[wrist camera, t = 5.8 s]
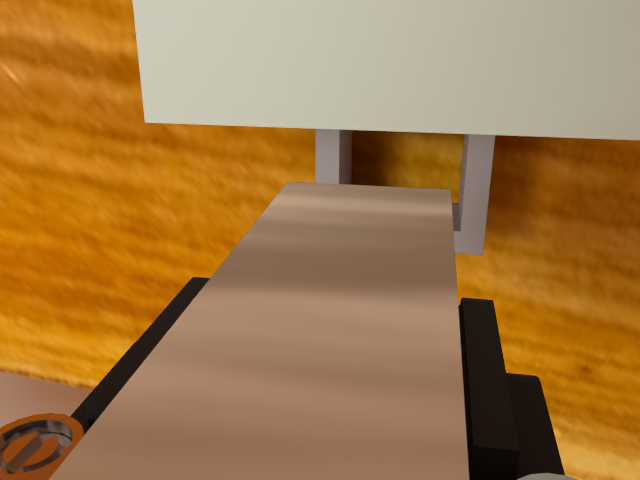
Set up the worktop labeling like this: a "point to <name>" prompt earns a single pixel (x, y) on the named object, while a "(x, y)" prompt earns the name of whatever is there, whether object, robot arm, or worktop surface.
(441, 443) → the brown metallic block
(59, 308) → the worktop surface
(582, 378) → the worktop surface
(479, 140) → the toolbox
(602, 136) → the toolbox lid
